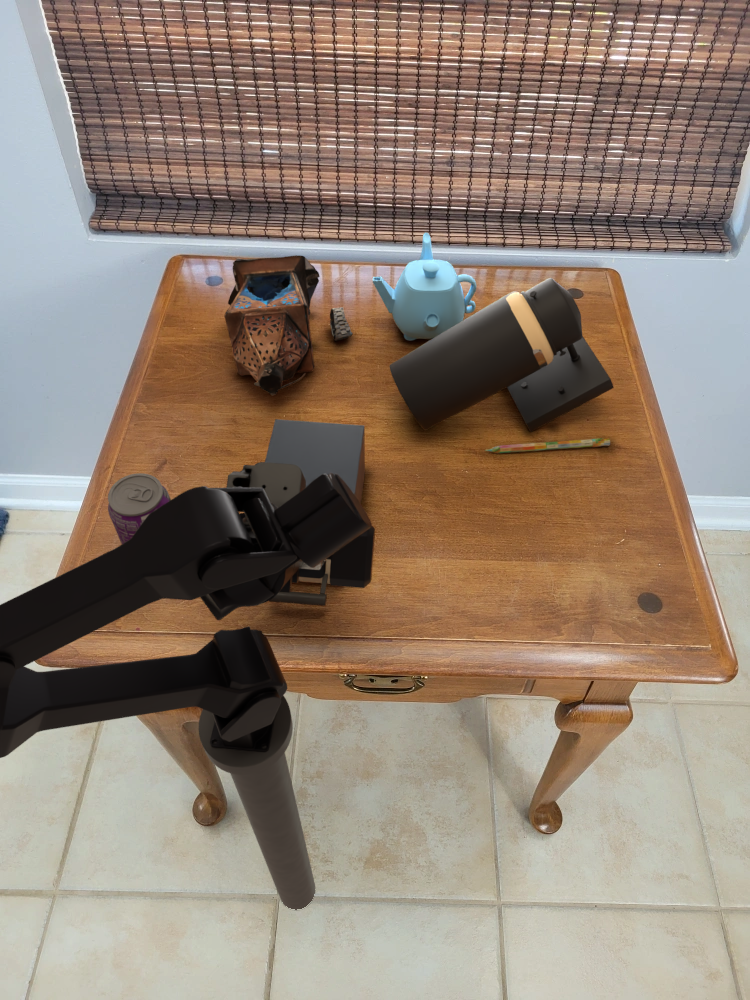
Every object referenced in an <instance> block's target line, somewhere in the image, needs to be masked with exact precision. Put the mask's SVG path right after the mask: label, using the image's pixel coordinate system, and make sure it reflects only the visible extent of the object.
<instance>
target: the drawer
mask: <svg viewBox="0 0 750 1000" xmlns="http://www.w3.org/2000/svg"><path fill="white" fill-rule="evenodd" d="M330 564H331V560H328V559H327V561H326V573H325V575H324V576H323V577H322V578H319V579H318V578H306V577H299V581H298V582H301V583H313V584H321V585H320V591H319V593H318V592H306V591H293V590H291V591H290V593H287V592H279V593H278V594H277V595H276V596H275V597H274V598H272V599H271V600H269V601H268V602H271V603H281V604H282V603H283V604H296V605H306V606H307V605H308V606H318V607H326V606H327V588H328V586H327V585H330Z"/></svg>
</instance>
